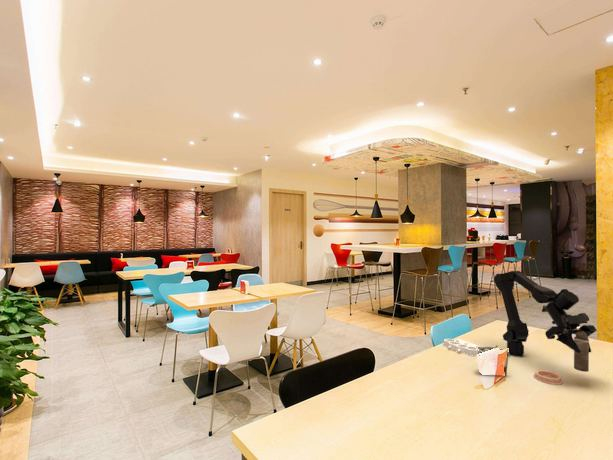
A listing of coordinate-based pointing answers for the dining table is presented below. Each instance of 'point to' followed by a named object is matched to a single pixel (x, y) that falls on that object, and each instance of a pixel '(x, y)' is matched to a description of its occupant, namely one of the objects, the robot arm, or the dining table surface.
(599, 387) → the dining table surface
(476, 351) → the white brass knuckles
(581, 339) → the pepper mill
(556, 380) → the dish
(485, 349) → the food container
